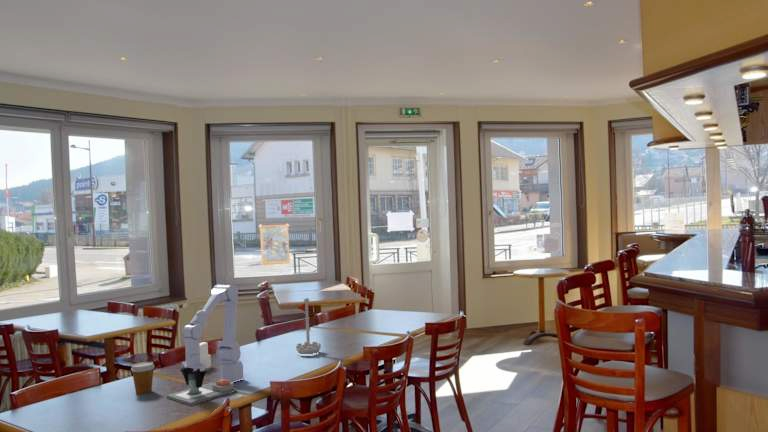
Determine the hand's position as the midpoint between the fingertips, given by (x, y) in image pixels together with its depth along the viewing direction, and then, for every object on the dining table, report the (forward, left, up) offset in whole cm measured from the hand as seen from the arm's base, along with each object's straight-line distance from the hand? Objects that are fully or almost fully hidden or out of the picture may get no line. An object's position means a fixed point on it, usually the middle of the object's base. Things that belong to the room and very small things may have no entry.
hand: (194, 385), depth 245 cm
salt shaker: (0, 0, -3) cm, 3 cm away
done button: (-10, +6, -2) cm, 12 cm away
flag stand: (-76, -12, -5) cm, 77 cm away
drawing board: (-3, +1, -4) cm, 5 cm away
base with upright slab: (-28, -38, -5) cm, 47 cm away
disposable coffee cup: (+9, -25, -4) cm, 27 cm away
